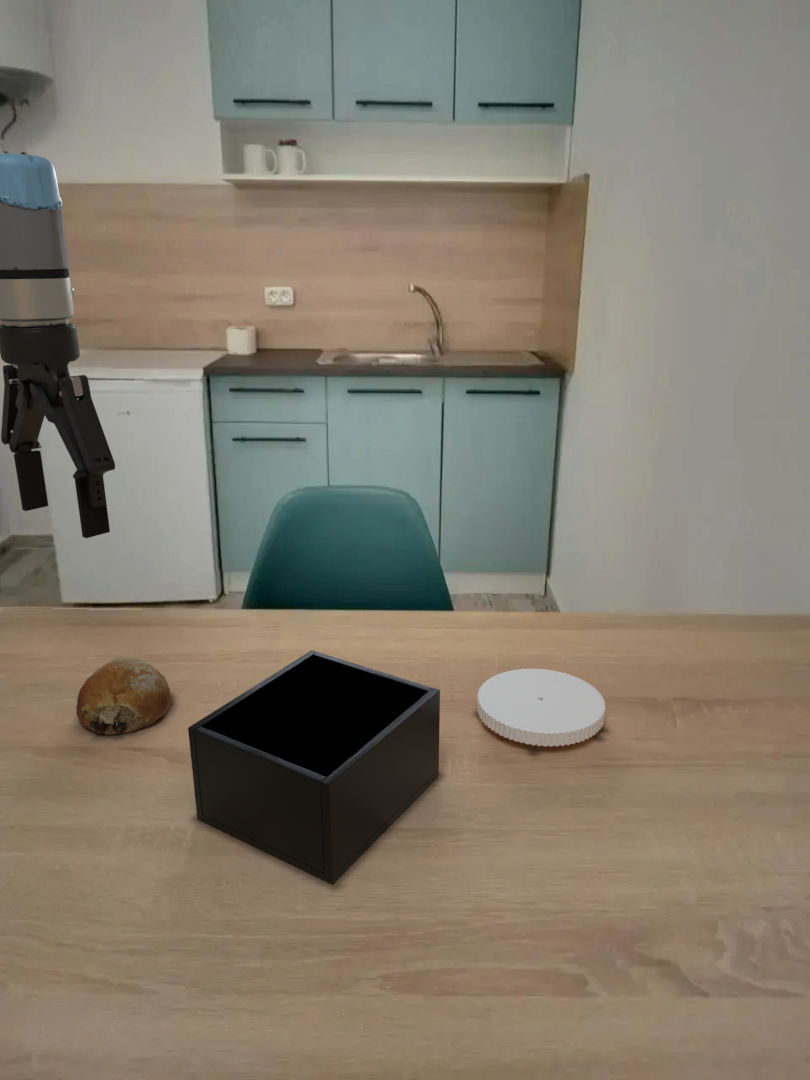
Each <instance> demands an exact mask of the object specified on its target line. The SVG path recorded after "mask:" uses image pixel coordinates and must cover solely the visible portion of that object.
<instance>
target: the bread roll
mask: <svg viewBox="0 0 810 1080" xmlns="http://www.w3.org/2000/svg"><path fill="white" fill-rule="evenodd" d="M170 705H171V688H170V686H169V683H168V681H167V679H166V676H165V675H164V674H162V673H161V672H160V671H159V670H158V669H157V668H156V667H154V666H153V665H151V664H150V663H148V662H146V661H144V660H141V659H137V658H131V657H129V658H128V657H126V658H123V657H114V658H113V659H111V660H110V661H109V662H107V663H105V664H103V665H102V666H100V667H98V668H97V669H96V670H94V672H93V673H92V674H91V675H90V676H88V677H87V678H86V680H85V681H84V683H83V684H82V686H81V687H80V689H79V692H78V695H77V699H76V717H77V719H78V720H79V722H80V724H81V725H82V726H84V727H85V728H86V729H87V730H90V731H93V732H95V733H98V734H99V735H100V734H101V735H102V734H105V735H107V736H111V735H122V734H127V733H128V734H129V733H133V732H135V731H139V730H141V729H144V728H147V727H150V726H153V725H154V724H155V723H156V721H158V720H160V719H161V718H162V717H163V716H164V715H166V713H167V711H168V710H169V708H170Z"/></svg>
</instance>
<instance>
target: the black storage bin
mask: <svg viewBox="0 0 810 1080" xmlns="http://www.w3.org/2000/svg"><path fill="white" fill-rule="evenodd" d="M440 718H441V690H440V689H439V688H435V687H431V686H428V685H425V684H421V683H419V682H415V681H412V680H408V679H406V678H402V677H399V676H396V675H393V674H390V673H387V672H384V671H380V670H377V669H373V668H371V667H367V666H365V665H361V664H357V663H354V662H352V661H348V660H345V659H341V658H339V657H335V656H331V655H330V654H329V655H328V654H325V653H322V652H320V651H317V650H312V649H311V650H309V651H308V652H306V653H305V654H303V655H301V656H299V657H298V658H297V659H295V660H294V661H292V662H290V663H289V664H287V665H286V666H284V667H282V668H280V669H279V670H278V671H276V672H274V673H273V674H271V675H270V676H267V677H266V678H264V679H263V680H261V681H259V682H258V683H257V684H255V685H254V686H252V687H250V688H249V689H247V690H246V691H244V692H242V693H241V694H239V695H238V696H236V697H235V698H233V699H231V700H229V701H228V702H226V703H225V704H223V705H222V706H220V707H219V708H217V709H215V710H214V711H212V712H211V713H209V714H207V715H206V716H204V717H203V718H201V719H199V720H197V721H196V722H195V723H193V724H192V725H190V726H188V727H187V732H188V741H189V752H190V760H191V771H192V772H191V773H192V782H193V788H194V789H193V790H194V801H195V810H196V819H197V820H198V821H200V822H201V823H203V824H206V825H207V826H210V827H213V828H214V829H217V831H220V832H222V833H224V834H227V835H229V836H231V837H232V838H235V839H237V840H239V841H241V842H243V843H246V844H248V845H250V846H252V847H253V848H255V849H258V850H260V851H262V852H264V853H266V854H268V855H270V856H272V857H273V858H275V859H278V860H280V861H283V862H284V863H287V864H288V865H290V866H293V867H294V868H297V869H298V870H301V871H304V872H305V873H307V874H309V875H311V876H313V877H315V878H317V879H320V880H321V881H324V882H325V883H328V884H330V885H334V884H335V883H336V882H337V881H338V880H339V879H340V878H341V877H342V876H343V875H344V874H345V873H346V872H347V871H348V870H349V868H351V867H352V866H353V865H354V864H355V863H356V861H358V860H359V858H360V857H361V856H363V854H364V853H366V851H367V850H368V849H369V848H370V847H371V846H372V845H373V844H374V843H375V842H376V841H377V840H378V839H379V838H380V837H381V836H382V835H383V834H384V833H385V832H386V831H387V830H388V829H389V828H390V827H391V826H392V825H393V823H395V822H396V821H397V820H398V818H400V817H401V815H402V814H404V813H405V812H406V810H407V809H409V807H410V806H411V805H412V804H413V803H414V802H416V800H417V799H418V798H419V797H420V796H421V795H422V794H423V793H424V792H425V791H426V790H427V789H428V788H429V787H430V786H431V785H432V784H433V783H434V782H435V781H436V780H437V779H438V778H439V775H440V769H439V768H440V725H441V723H440V720H441V719H440Z"/></svg>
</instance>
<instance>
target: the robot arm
mask: <svg viewBox="0 0 810 1080" xmlns="http://www.w3.org/2000/svg"><path fill="white" fill-rule="evenodd" d="M65 231H66V230H65V223H64V213H63V200H62V198H61V196H60V189H59V185H58V179H57V174H56V169H55V166H54V165H53V163H52V162H51V161H50V159H48V158H46V157H43V156H40V155H34V154H33V155H32V154H25V153H24V154H23V153H5V152H4V153H2V152H0V323H1V324H0V359H1V360H2V362H4V363H5V365H3V366H2V376H3V383H4V386H3V387H4V389H3V401H2V405H3V406H2V416H1V429H0V430H1V431H0V441H1V443H2V444H3V445H8V448H9V450H10V452H11V453H13V460H14V465H15V472H16V478H17V483H18V484H17V485H18V490H19V497H20V502H21V509H22V511H24V512H28V511H33V510H36V509H41V508H45V507H46V508H47V507H49V500H48V493H47V487H46V480H45V472H44V466H43V459H42V453H41V450H38V449H41V448H42V445H41V443H40V442H39V440H38V439H39V436H40V433H41V429H42V426H43V423H44V419H45V418H46V420H47V421H48V422H49V423H52V424H54V426H55V429H56V431H57V432H58V434H59V437H60V438H61V440H62V442H63V444H64V447H65V449H66V450H67V453H68V455H69V456H70V459H71V461H72V463H73V465H74V467H75V469H76V470H75V471H74V473H73V475H72V478H73V479H74V484H75V491H76V500H77V506H78V514H79V522H80V528H81V535H82V536H81V537H82V538H84V539H89V538H92V537H97V536H100V535H104V534H107V533H110V532H111V529H110V522H109V520H110V519H109V512H108V504H107V497H106V490H105V489H106V488H105V481H104V480H105V479H104V474H106V473H107V472H112V471H114V470H115V469H116V462H115V460H114V458H113V454H112V451H111V449H110V446H109V443H108V440H107V438H106V435H105V431H104V429H103V427H102V423H101V421H100V418H99V415H98V412H97V410H96V407H95V404H94V402H93V399H92V394H91V388H90V383H89V379H88V376H87V375H86V374H79V375H71V373H70V370H69V369H70V368H69V364H70V363H71V362H75V361H77V360H79V358H80V356H81V352H80V345H79V343H80V342H79V336H78V327H77V326H76V325H75V324H74V323H73V322H70V321H69V320H70V319H72V318H74V316H75V310H74V308H75V307H74V301H73V295H74V294H75V289H74V288H73V286H71V277H70V271H69V269H70V266H69V257H68V249H67V240H66V232H65Z"/></svg>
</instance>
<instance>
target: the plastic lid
mask: <svg viewBox="0 0 810 1080" xmlns="http://www.w3.org/2000/svg"><path fill="white" fill-rule="evenodd" d="M476 711H477V715H478V717H479V719H480V720H481V722H482V723H484V725H485V726H486V727H487V728H488V729H490V731H491V732H494V733H495V734H498V735H499V736H501V737H503V738H505V739H508V740H509V741H514V742H519V744H525V745H531V746H537V747H541V746H542V747H550V748H552V747H559V746H560V747H561V746H562V747H564V746H570V745H571V744H572V745H575V744H576V743H578V744H579V743H581V742H585V740H589V739H590V738H593V736H595V735H596V734H597V733H599V731H601V729H602V728H603V725H604V723H605V717H606V701H605V699H604V696H602V693H600V691H599V690H597V687H594V685H592V684H591V683H589V682H587V680H583V679H582V678H579V677H578V676H574V674H569V673H564V671H561V672H560V671H559V670H553V669H548V668H546V669H543V668H536V667H535V668H523V669H522V668H519V669H513V670H511V669H510V670H506V671H505V672H500V673H497V674H496V675H493V676H490V677H489V679H486V681H483V683H481V685H480V687H479V689H478V690H477V697H476Z"/></svg>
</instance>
